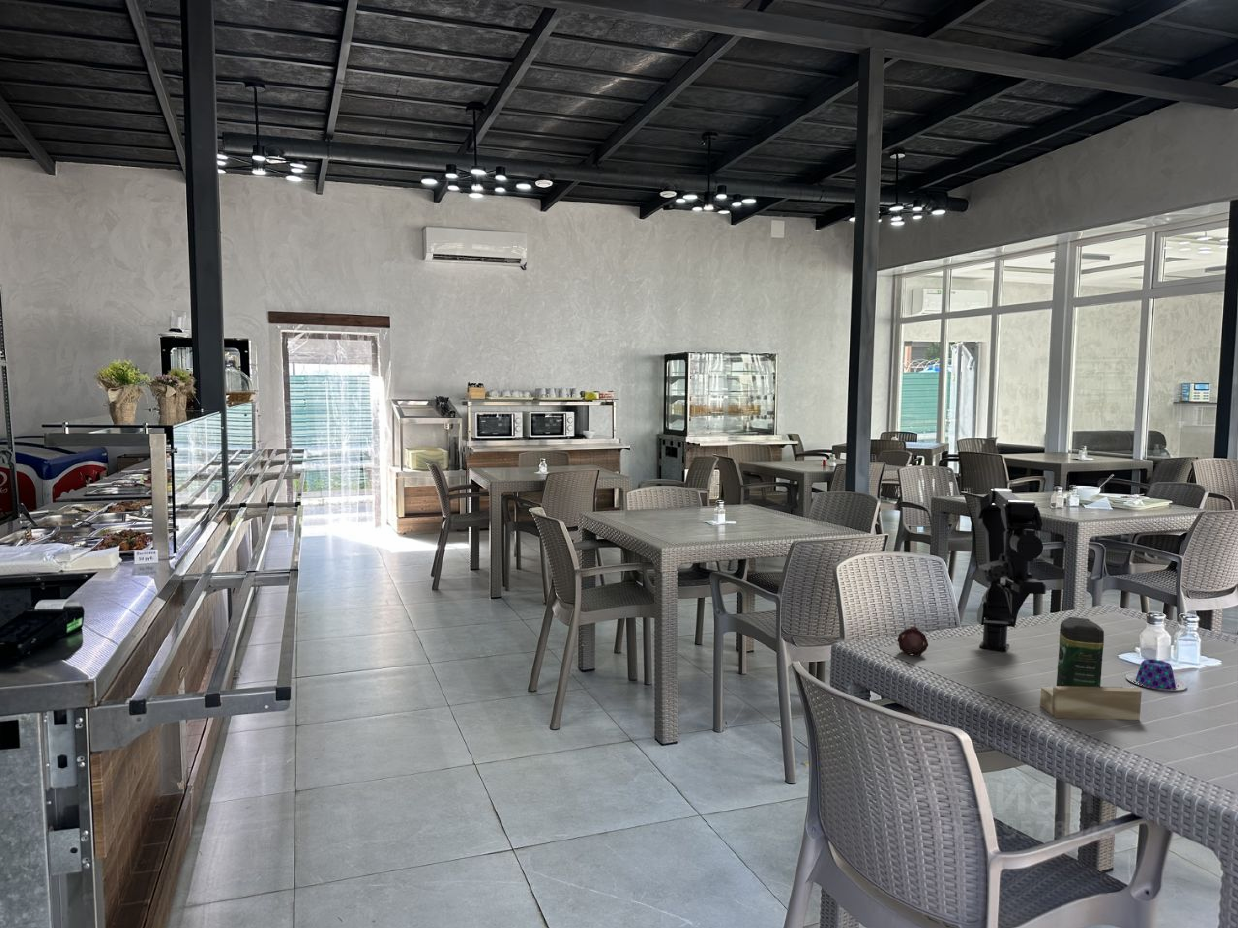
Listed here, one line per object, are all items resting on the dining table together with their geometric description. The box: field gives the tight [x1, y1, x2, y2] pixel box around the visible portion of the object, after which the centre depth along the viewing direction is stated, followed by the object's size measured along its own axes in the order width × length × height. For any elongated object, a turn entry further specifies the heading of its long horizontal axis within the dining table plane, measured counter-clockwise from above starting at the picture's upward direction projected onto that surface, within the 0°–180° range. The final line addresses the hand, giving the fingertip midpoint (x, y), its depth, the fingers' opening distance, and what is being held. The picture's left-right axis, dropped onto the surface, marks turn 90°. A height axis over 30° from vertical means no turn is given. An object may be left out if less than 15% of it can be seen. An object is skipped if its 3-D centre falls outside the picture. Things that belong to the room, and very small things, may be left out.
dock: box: [1039, 685, 1142, 721], centre depth 175 cm, size 7×17×6 cm, turn 89°
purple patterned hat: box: [1125, 658, 1188, 692], centre depth 194 cm, size 12×12×5 cm
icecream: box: [897, 626, 929, 656], centre depth 213 cm, size 7×7×15 cm
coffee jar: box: [1055, 616, 1105, 687], centre depth 179 cm, size 10×8×19 cm
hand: (1013, 614), depth 203 cm, fingers closed
